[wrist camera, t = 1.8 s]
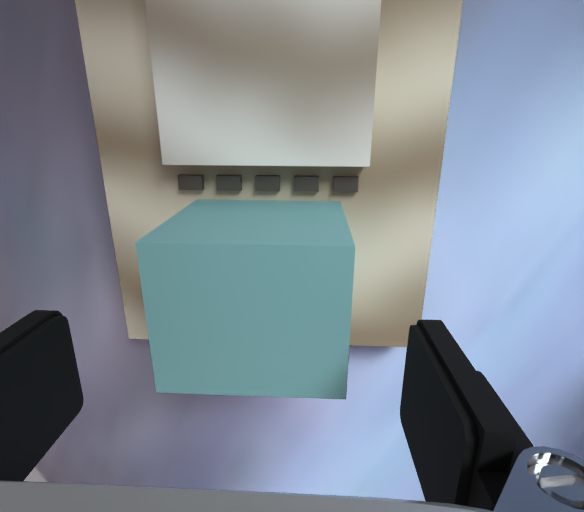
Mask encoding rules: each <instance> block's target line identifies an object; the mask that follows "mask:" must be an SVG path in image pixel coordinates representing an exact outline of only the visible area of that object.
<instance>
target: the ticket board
mask: <svg viewBox="0 0 584 512" xmlns="http://www.w3.org/2000/svg"><path fill="white" fill-rule="evenodd" d="M75 5H76V11H77V17H78V24H79V30H80V36H81V42H82V49H83V55H84V61H85V67H86V74H87V80H88V86H89V92H90V99H91V105H92V111H93V117H94V124H95V130H96V136H97V142H98V149H99V155H100V161H101V167H102V174H103V180H104V186H105V192H106V199H107V205H108V211H109V217H110V224H111V230H112V236H113V243H114V249H115V255H116V261H117V268H118V274H119V280H120V286H121V293H122V299H123V305H124V311H125V318H126V324H127V330H128V336H129V339H149V337H148V330H147V323H146V316H145V309H144V302H143V295H142V287H141V280H140V273H139V266H138V259H137V252H136V245H135V242H137V241H138V240H139V239H141V238H142V237H144V236H145V235H147V234H148V233H149V232H151V231H152V230H154V229H155V228H157V227H158V226H159V225H161V224H162V223H164V222H165V221H167V220H168V219H169V218H171V217H172V216H174V215H175V214H177V213H178V212H179V211H181V210H182V209H184V208H185V207H187V206H188V205H189V204H191V203H192V202H194V201H195V200H197V199H212V200H289V201H340V202H341V205H342V208H343V211H344V214H345V217H346V220H347V223H348V226H349V229H350V232H351V235H352V238H353V241H354V244H355V262H354V278H353V294H352V311H351V327H350V343H349V345H357V346H390V347H407V343H408V335H409V328H410V325H416V324H417V321H418V320H421V319H422V311H423V303H424V296H425V288H426V280H427V273H428V265H429V258H430V250H431V242H432V235H433V227H434V219H435V212H436V204H437V196H438V189H439V181H440V174H441V166H442V158H443V151H444V143H445V135H446V128H447V120H448V112H449V105H450V97H451V90H452V82H453V74H454V67H455V59H456V51H457V44H458V36H459V28H460V21H461V13H462V6H463V0H75Z"/></svg>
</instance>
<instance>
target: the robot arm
mask: <svg viewBox="0 0 584 512" xmlns="http://www.w3.org/2000/svg"><path fill="white" fill-rule="evenodd" d="M82 405H83V393H82V388H81V383H80V378H79V373H78V368H77V363H76V358H75V353H74V348H73V343H72V338H71V333H70V328H69V323H68V320H67V318H66V317H65V316H63V315H62V314H61V313H60V312H59V311H47V310H35V311H33V312H31V313H29V314H28V315H26V316H25V317H23V318H22V319H20V320H19V321H17V322H16V323H14V324H13V325H11V326H10V327H8V328H7V329H5V330H4V331H2V332H1V333H0V512H584V460H582V459H580V458H578V457H576V456H574V455H573V454H570V453H567V452H564V451H562V450H559V449H555V448H550V447H545V446H541V447H534V446H533V445H532V443H531V442H530V440H529V439H528V438H527V436H526V435H525V433H524V432H523V430H522V429H521V428H520V426H519V425H518V423H517V422H516V420H515V419H514V418H513V416H512V415H511V413H510V412H509V411H508V409H507V408H506V406H505V405H504V403H503V402H502V401H501V399H500V398H499V396H498V395H497V393H496V392H495V391H494V389H493V388H492V386H491V385H490V384H489V382H488V381H487V379H486V378H485V376H484V375H483V374H482V373H481V372H479V371H476V370H475V369H474V367H473V366H472V364H471V363H470V361H469V360H468V359H467V357H466V356H465V354H464V353H463V351H462V350H461V348H460V347H459V345H458V344H457V342H456V341H455V340H454V338H453V337H452V335H451V334H450V332H449V331H448V329H447V328H446V326H445V325H444V323H443V322H442V321H441V320H418V321H417V324H416V325H410V328H409V335H408V343H407V352H406V361H405V370H404V379H403V388H402V397H401V406H400V417H401V423H402V426H403V430H404V433H405V436H406V439H407V443H408V446H409V449H410V452H411V455H412V459H413V462H414V465H415V468H416V472H417V475H418V478H419V481H420V484H421V488H422V491H423V494H424V497H425V501H414V500H402V499H390V498H376V497H356V496H336V495H315V494H295V493H275V492H254V491H233V490H211V489H188V488H166V487H143V486H120V485H97V484H73V483H49V482H26V481H24V479H25V478H26V477H27V476H28V475H29V473H30V472H31V471H32V470H33V468H34V467H35V466H36V465H37V463H38V462H39V461H40V460H41V459H42V457H43V456H44V455H45V454H46V452H47V451H48V450H49V449H50V447H51V446H52V445H53V444H54V443H55V441H56V440H57V439H58V438H59V436H60V435H61V434H62V433H63V432H64V430H65V429H66V428H67V427H68V425H69V424H70V423H71V422H72V420H73V419H74V418H75V417H76V416H77V414H78V413H79V412H80V410H81V408H82Z"/></svg>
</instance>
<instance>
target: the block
mask: <svg viewBox="0 0 584 512" xmlns="http://www.w3.org/2000/svg"><path fill="white" fill-rule="evenodd" d="M135 245H136V252H137V259H138V266H139V273H140V280H141V287H142V295H143V302H144V309H145V316H146V323H147V330H148V337H149V345H150V352H151V359H152V366H153V373H154V380H155V387H156V393H183V394H211V395H239V396H267V397H294V398H322V399H346V392H347V375H348V359H349V343H350V327H351V311H352V294H353V278H354V262H355V244H354V241H353V238H352V235H351V232H350V229H349V226H348V223H347V220H346V217H345V214H344V211H343V208H342V205H341V202H340V201H289V200H212V199H197V200H195V201H194V202H192V203H191V204H189V205H188V206H187V207H185V208H184V209H182V210H181V211H179V212H178V213H177V214H175V215H174V216H172V217H171V218H169V219H168V220H167V221H165V222H164V223H162V224H161V225H159V226H158V227H157V228H155V229H154V230H152V231H151V232H149V233H148V234H147V235H145V236H144V237H142V238H141V239H139V240H138V241H137V242H135Z"/></svg>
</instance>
